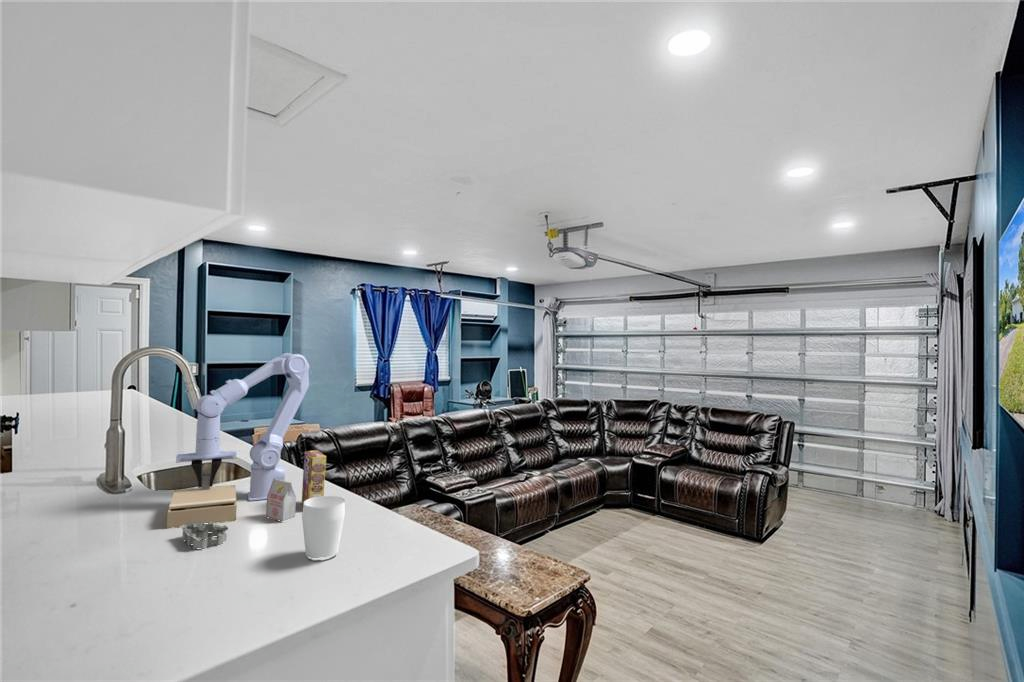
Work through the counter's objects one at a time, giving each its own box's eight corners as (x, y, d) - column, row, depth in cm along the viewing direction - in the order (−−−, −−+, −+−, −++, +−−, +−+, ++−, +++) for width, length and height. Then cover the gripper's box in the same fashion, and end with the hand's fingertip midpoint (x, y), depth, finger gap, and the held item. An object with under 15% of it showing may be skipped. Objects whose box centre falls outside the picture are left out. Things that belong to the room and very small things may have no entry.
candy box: (324, 509, 144) (326, 455, 144) (308, 512, 142) (311, 457, 142) (316, 501, 151) (318, 449, 152) (301, 503, 149) (303, 451, 149)
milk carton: (278, 513, 139) (280, 477, 139) (294, 518, 136) (296, 481, 136) (266, 517, 136) (267, 480, 136) (282, 522, 133) (284, 484, 133)
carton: (235, 503, 147) (235, 489, 147) (235, 520, 133) (236, 505, 133) (172, 509, 139) (173, 494, 139) (166, 528, 125) (167, 512, 125)
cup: (324, 567, 108) (326, 510, 108) (290, 559, 111) (293, 504, 111) (351, 551, 116) (354, 499, 116) (319, 544, 119) (322, 493, 120)
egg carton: (229, 545, 118) (230, 527, 118) (192, 553, 112) (193, 535, 112) (214, 532, 125) (215, 515, 125) (178, 539, 120) (179, 522, 120)
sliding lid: (235, 486, 148) (235, 471, 148) (236, 502, 134) (236, 485, 135) (174, 492, 141) (175, 475, 141) (168, 509, 127) (169, 491, 127)
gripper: (236, 434, 151) (234, 480, 151) (178, 436, 144) (176, 484, 143) (237, 438, 145) (235, 486, 144) (176, 441, 137) (174, 491, 137)
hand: (205, 486), depth 144 cm, fingers closed on sliding lid, 2 cm apart
